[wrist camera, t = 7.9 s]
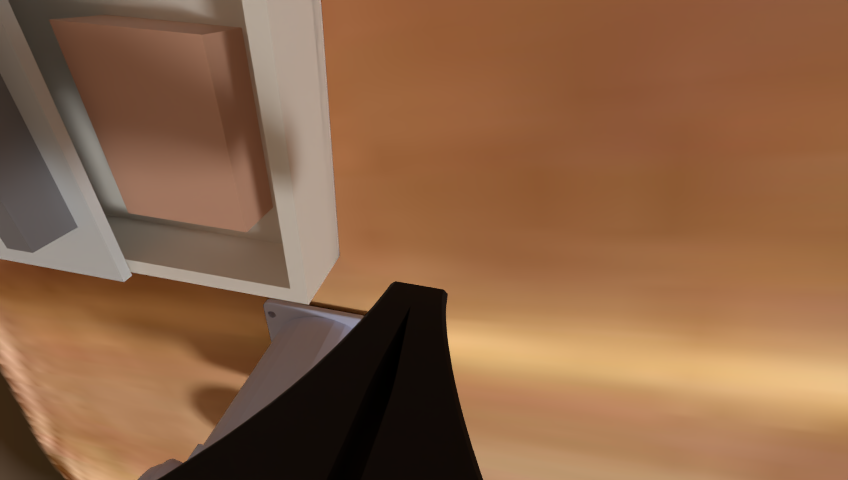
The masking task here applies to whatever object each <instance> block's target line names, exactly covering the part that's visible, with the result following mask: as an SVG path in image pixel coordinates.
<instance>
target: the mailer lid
mask: <svg viewBox="0 0 848 480" xmlns="http://www.w3.org/2000/svg"><path fill="white" fill-rule="evenodd" d="M0 259H4V260H9V261H14V262H20V263H25V264H31V265H36V266H41V267H47V268H52V269H57V270H63V271H68V272H73V273H79V274H84V275H89V276H95V277H100V278H105V279H111V280H116V281H121V282H125V281H126V280H127V279H128V278H130V277H131V276H132V274H131V272H130V269H129V267H128V265H127V263H126V261H125V258H124V256H123V254H122V252H121V250H120V247H119V245H118V243H117V241H116V238H115V236H114V234H113V232H112V230H111V227H110V225H109V223H108V221H107V219H106V216H105V214H104V212H103V210H102V207H101V205H100V203H99V201H98V199H97V196H96V194H95V192H94V190H93V188H92V185H91V183H90V181H89V179H88V176H87V174H86V172H85V170H84V168H83V165H82V163H81V161H80V159H79V156H78V154H77V152H76V150H75V148H74V145H73V143H72V141H71V139H70V137H69V134H68V132H67V130H66V128H65V125H64V123H63V121H62V119H61V117H60V114H59V112H58V110H57V108H56V106H55V103H54V101H53V99H52V97H51V94H50V92H49V90H48V88H47V86H46V83H45V81H44V79H43V77H42V74H41V72H40V70H39V68H38V66H37V63H36V61H35V59H34V57H33V55H32V52H31V50H30V48H29V46H28V43H27V41H26V39H25V37H24V35H23V32H22V30H21V28H20V26H19V24H18V21H17V19H16V17H15V15H14V12H13V10H12V8H11V6H10V4H9V1H8V0H0Z"/></svg>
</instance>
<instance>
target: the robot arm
mask: <svg viewBox="0 0 848 480" xmlns="http://www.w3.org/2000/svg"><path fill="white" fill-rule="evenodd" d="M447 295H448V294H447V293H446V292H445V291H444V290H443V289H437V288H431V287H425V286H419V285H414V284H408V283H402V282H396V281H395V282H393V283H392V284H391V285H390V286H389V287H388V289H387V290H386V291H385V292H384V294H383V295H382V296H381V297H380V299H379V300H378V301H377V302H376V303H375V305H374V306H373V307H372V308H371V309H370V310H369V311H368V313H367V314H366V315H365V316H363V315H358V314H352V313H347V312H341V311H336V310H330V309H325V308H320V307H314V306H309V305H303V304H298V303H292V302H287V301H281V300H276V299H267V300H266V302H265V303H264V304H263V307H264V312H265V316H266V320H267V325H268V329H269V334H270V338H271V344H270V346H269V347H268V349H267V350H266V352H265V353H264V355H263V356H262V358H261V359H260V361H259V362H258V364H257V365H256V367H255V368H254V370H253V371H252V373H251V374H250V376H249V377H248V379H247V380H246V382H245V383H244V385H243V386H242V388H241V389H240V391H239V392H238V394H237V395H236V397H235V398H234V400H233V401H232V403H231V404H230V406H229V407H228V409H227V410H226V412H225V413H224V415H223V416H222V418H221V419H220V421H219V422H218V424H217V425H216V427H215V428H214V430H213V431H212V433H211V434H210V436H209V437H208V439H207V440H206V442H205V443H204V445H202V444H198V445H197V447H196V448H195V449H194V451H193V452H192V454H191V455H190V457H189V458H188V460H187V461H186V462H184V463H182V462H180V461H178V460H176V459H169V460H167V461H166V462H164V463H162V464H159V465H156V466H154V467H151V468H149V469H148V470H147V471H146V472H145V473H144V474H143V475H142V476H141V477H140V478H139V479H138V480H483V478H482V475H481V472H480V469H479V466H478V463H477V460H476V457H475V454H474V451H473V448H472V445H471V441H470V438H469V434H468V431H467V428H466V424H465V421H464V417H463V413H462V410H461V406H460V402H459V397H458V393H457V389H456V384H455V380H454V375H453V370H452V364H451V358H450V352H449V346H448V338H447V327H446V303H447Z"/></svg>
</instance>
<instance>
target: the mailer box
mask: <svg viewBox="0 0 848 480" xmlns="http://www.w3.org/2000/svg"><path fill="white" fill-rule="evenodd" d="M8 1H9V4H10V6H11V8H12V10H13V12H14V15H15V17H16V19H17V21H18V24H19V26H20V28H21V30H22V32H23V35H24V37H25V39H26V41H27V43H28V46H29V48H30V50H31V52H32V55H33V57H34V59H35V61H36V63H37V66H38V68H39V70H40V72H41V74H42V77H43V79H44V81H45V83H46V86H47V88H48V90H49V92H50V94H51V97H52V99H53V101H54V103H55V106H56V108H57V110H58V112H59V114H60V117H61V119H62V121H63V123H64V125H65V128H66V130H67V132H68V134H69V137H70V139H71V141H72V143H73V145H74V148H75V150H76V152H77V154H78V156H79V159H80V161H81V163H82V165H83V168H84V170H85V172H86V174H87V176H88V179H89V181H90V183H91V185H92V188H93V190H94V192H95V194H96V196H97V199H98V201H99V203H100V205H101V207H102V210H103V212H104V214H105V216H106V219H107V221H108V223H109V225H110V227H111V230H112V232H113V234H114V236H115V238H116V241H117V243H118V245H119V247H120V250H121V252H122V254H123V256H124V258H125V261H126V263H127V265H128V267H129V269H130V272H133V273H138V274H144V275H149V276H155V277H160V278H165V279H171V280H176V281H182V282H187V283H193V284H198V285H204V286H209V287H215V288H220V289H225V290H231V291H236V292H242V293H247V294H253V295H258V296H264V297H269V298H275V299H280V300H286V301H291V302H296V303H302V304H307V305H309V303H310V302H311V300H312V299H313V297H314V295H315V294H316V292H317V291H318V289H319V288H320V286H321V284H322V283H323V281H324V280H325V278H326V276H327V275H328V273H329V272H330V270H331V269H332V267H333V265H334V264H335V262H336V261H337V259H338V257H339V242H338V228H337V215H336V201H335V187H334V174H333V160H332V146H331V133H330V119H329V105H328V92H327V78H326V64H325V51H324V37H323V23H322V9H321V0H8Z"/></svg>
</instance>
